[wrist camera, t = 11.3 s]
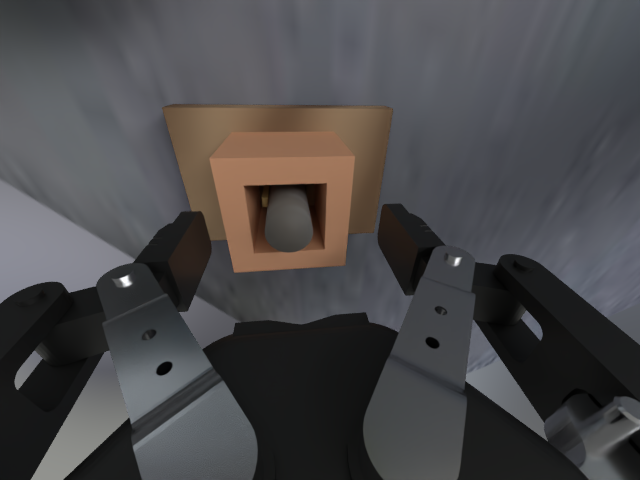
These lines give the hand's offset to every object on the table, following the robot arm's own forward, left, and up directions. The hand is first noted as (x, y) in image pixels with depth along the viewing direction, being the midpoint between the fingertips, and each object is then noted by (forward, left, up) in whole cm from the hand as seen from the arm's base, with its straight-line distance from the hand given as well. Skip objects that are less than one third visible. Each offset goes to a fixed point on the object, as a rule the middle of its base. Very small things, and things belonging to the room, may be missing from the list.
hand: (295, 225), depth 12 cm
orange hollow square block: (0, 0, -5) cm, 5 cm away
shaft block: (0, 0, -6) cm, 6 cm away
